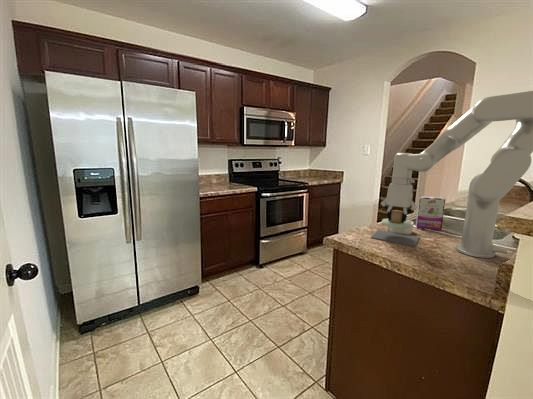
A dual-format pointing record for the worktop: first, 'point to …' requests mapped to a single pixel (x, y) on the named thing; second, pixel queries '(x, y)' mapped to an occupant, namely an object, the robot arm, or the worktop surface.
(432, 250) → the worktop surface
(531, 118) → the robot arm
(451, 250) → the worktop surface
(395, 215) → the lid
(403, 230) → the bowl
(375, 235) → the mat
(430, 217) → the candy bar box
